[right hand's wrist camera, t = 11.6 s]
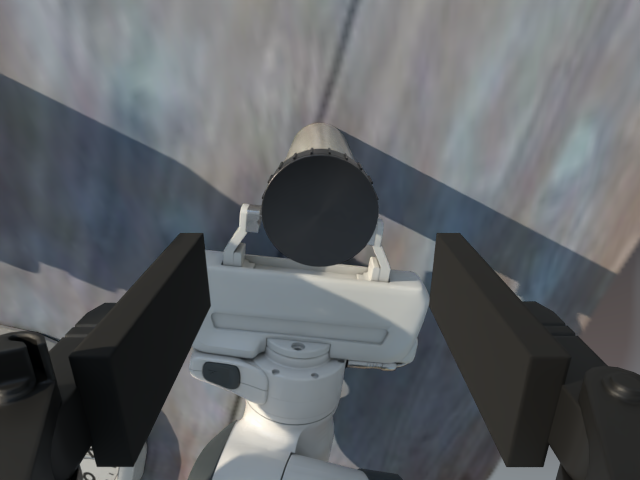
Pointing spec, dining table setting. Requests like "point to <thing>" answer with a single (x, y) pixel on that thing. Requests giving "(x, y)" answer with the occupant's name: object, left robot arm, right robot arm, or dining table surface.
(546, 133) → the dining table surface
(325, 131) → the white tall cylinder
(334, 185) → the lid
